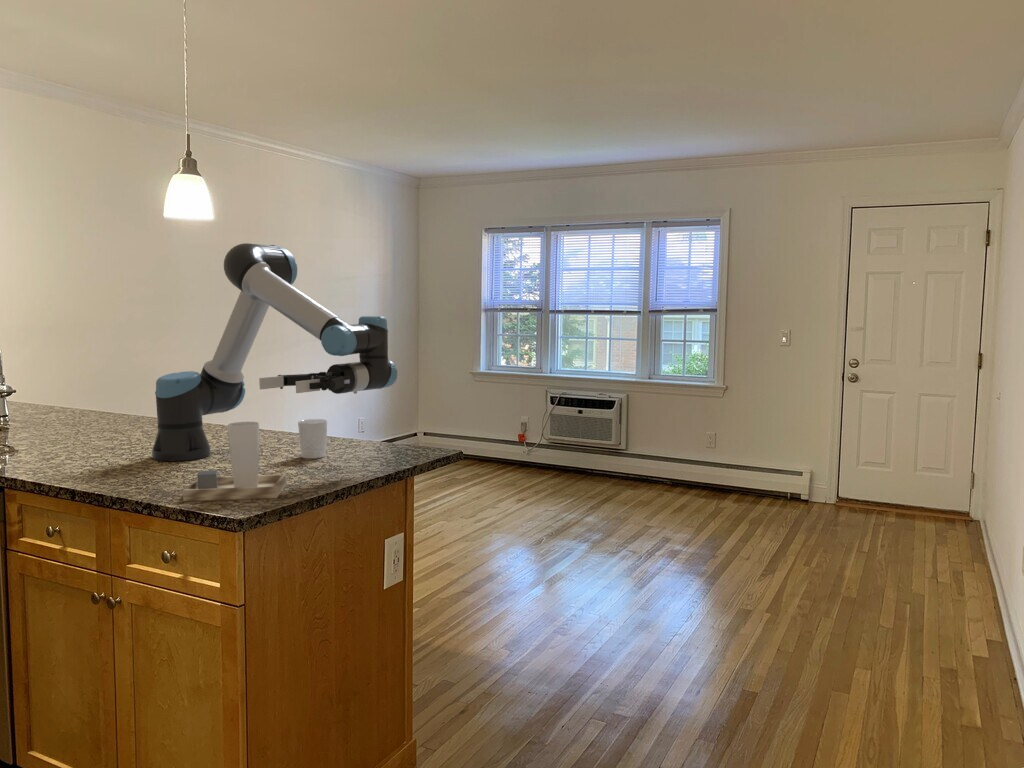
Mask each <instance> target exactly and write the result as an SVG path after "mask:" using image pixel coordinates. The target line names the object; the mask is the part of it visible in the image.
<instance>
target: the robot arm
mask: <svg viewBox="0 0 1024 768" xmlns="http://www.w3.org/2000/svg"><path fill="white" fill-rule="evenodd" d="M223 272H224V274H225V276H226V278H227V280H228V281H229V282H230V283H231V285H233V286H234V287H236V288H237V289H238V290H240V291H239V294H238V297H237V300H236V302H235V304H234V307H233V309H232V311H231V314H230V316H229V318H228V321H227V324H226V326H225V329H224V331H223V334H222V336H221V338H220V339H219V340H220V341H219V342H218V345H217V347H216V350H215V352H214V355H213V356H212V357H213V358H212V359H211V360H209V361H206V362H204V365H203V367H202V369H201V372H200V373H199V372H198V371H193V370H191V371H190V370H189V371H188V370H187V371H179V372H173V373H168V374H165V375H162V376H160V377H158V378H157V380H156V381H155V390H154V391H155V392H154V395H155V403H156V404H155V405H156V418H157V419H156V421H157V432H156V436H155V440H154V443H153V447H152V450H151V451H152V455H151V456H152V459H153V460H154V461H158V462H182V461H183V462H184V461H191V460H198V459H199V460H200V459H203V458H206V457H209V456H210V455H211V446H210V445H211V444H210V442H209V439H208V437H207V435H206V432H205V430H204V425H203V416H206V415H213V414H218V413H221V414H222V413H225V412H229V411H232V410H235V409H236V408H237V407H238V406H240V405H241V403H242V402H243V401H244V398H245V395H246V388H245V382H244V378H245V377H244V374H243V372H242V370H243V367H244V365H245V362H246V361H247V358H248V356H249V353H250V350H251V349H252V347H253V345H254V341H255V339H256V337H257V335H258V334H259V330H260V328H261V326H262V323H263V321H264V319H265V316H266V314H267V312H268V310H269V307H271V308H272V309H274V310H276V312H278V313H280V314H281V315H283V316H284V317H285V318H287V319H289V321H291V322H293V323H294V324H295V325H297V326H299V327H300V328H302V330H303V329H304V330H305V331H306V332H307V333H309V334H311V336H313V337H315V338H316V339H318V341H321V347H323V350H324V351H325V352H326V353H327V354H329V355H330V356H334V357H335V356H337V357H344V356H348V355H356V354H358V356H359V361H356V362H354V361H353V362H348V363H347V362H346V363H337V364H335V363H334V364H332V365H331V366H329V368H327V371H320V372H311V373H310V372H309V373H305V374H304V373H300V374H299V373H298V374H277V375H276V376H269V377H268V376H267V377H258V380H259V382H258V384H259V390H269V389H278V388H279V389H280V390H283V389H284V387H290V386H291V387H292V386H293V387H295V393H296V394H302V393H311V392H319V391H327V390H328V391H330V392H332V393H333V394H336V395H340V394H347V393H353V394H355V395H356V394H358V392H361V391H371V390H381V389H383V388H388V387H391V386H393V385H394V384H395V382H396V381H397V379H398V368H397V367H396V364H395V362H393V361H392V360H389V346H388V345H389V343H388V342H389V338H388V337H389V335H388V334H389V329H388V320H387V318H386V317H385V316H383V315H381V316H380V315H378V316H377V315H373V316H372V315H370V316H369V315H366V316H365V315H364V316H359V318H358V323H356V324H355V323H354V324H350V323H348V322H346V321H345V320H343V319H342V318H340V317H339V316H338V315H336V314H334V313H333V312H332V311H330V310H328V308H326V307H324V306H323V305H322V304H321V303H319V302H317V301H315V300H314V299H312V298H311V297H310V296H308V295H306V294H305V293H303V292H302V290H299V289H298V288H296V287H295V286H293V285H294V283H295V282H296V279H297V277H298V264H297V263H296V259H295V256H294V255H293V254H292V253H291V252H290V251H289V250H288V249H287V248H285V247H282V246H278V245H274V244H270V245H267V244H256V243H247V242H246V243H239V244H237V245H235V246H233V247H231V248H230V249H229V251H227V253H226V254H225V257H224V260H223Z"/></svg>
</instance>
